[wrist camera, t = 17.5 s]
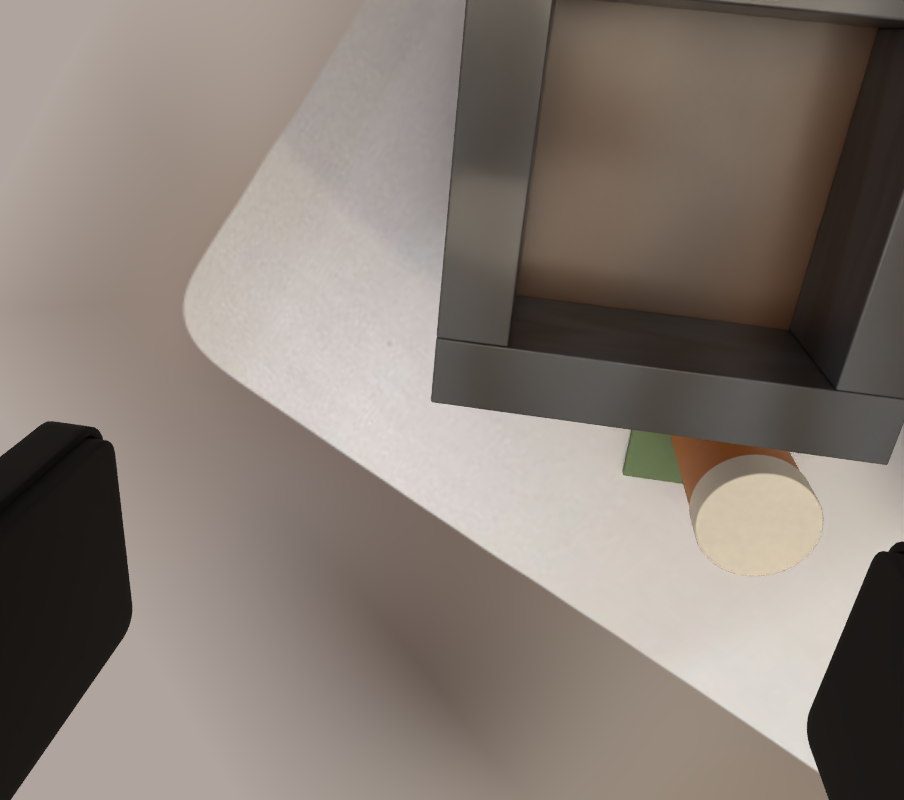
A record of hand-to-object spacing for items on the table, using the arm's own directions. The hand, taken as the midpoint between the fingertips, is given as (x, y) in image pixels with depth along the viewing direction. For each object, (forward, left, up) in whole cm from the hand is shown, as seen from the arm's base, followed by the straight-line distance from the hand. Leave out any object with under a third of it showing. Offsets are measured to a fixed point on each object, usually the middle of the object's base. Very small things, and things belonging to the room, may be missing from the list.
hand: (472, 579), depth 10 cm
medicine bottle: (+13, -15, -39) cm, 44 cm away
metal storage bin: (+5, +2, -39) cm, 40 cm away
